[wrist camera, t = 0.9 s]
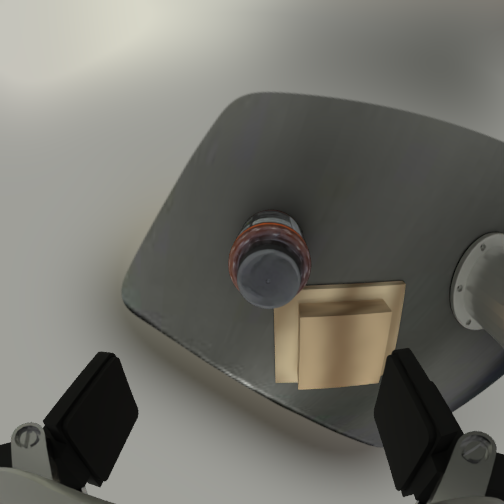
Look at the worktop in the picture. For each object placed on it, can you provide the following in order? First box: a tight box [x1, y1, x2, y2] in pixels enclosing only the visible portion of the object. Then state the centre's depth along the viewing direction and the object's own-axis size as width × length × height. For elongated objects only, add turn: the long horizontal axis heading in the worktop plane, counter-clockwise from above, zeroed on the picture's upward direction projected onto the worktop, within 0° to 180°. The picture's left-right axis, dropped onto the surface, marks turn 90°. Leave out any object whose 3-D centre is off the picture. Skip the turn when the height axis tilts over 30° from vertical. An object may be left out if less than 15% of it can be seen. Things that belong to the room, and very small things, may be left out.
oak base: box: [274, 281, 406, 390], centre depth 30 cm, size 14×12×4 cm
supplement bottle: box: [228, 210, 311, 309], centre depth 24 cm, size 6×6×11 cm
